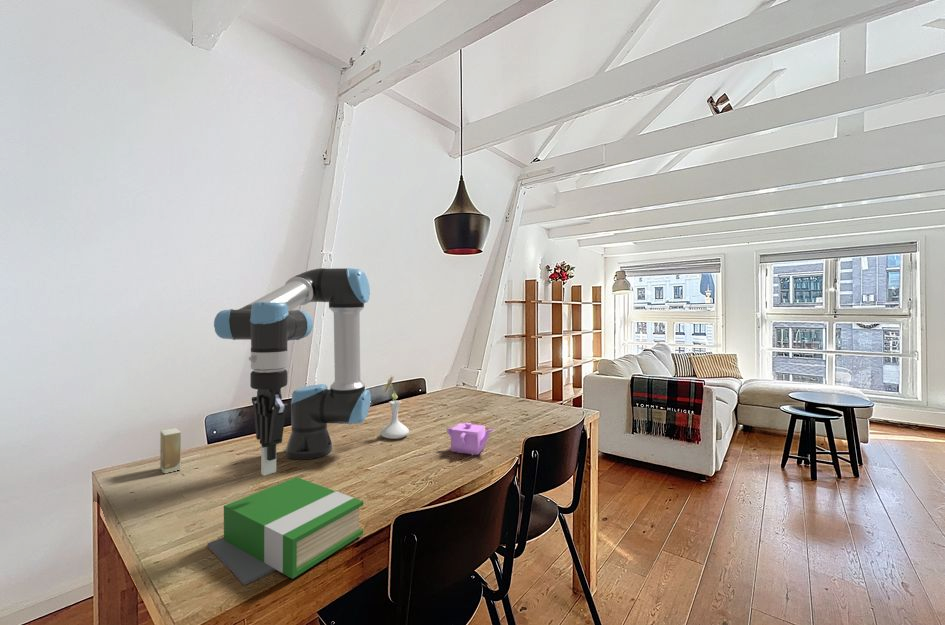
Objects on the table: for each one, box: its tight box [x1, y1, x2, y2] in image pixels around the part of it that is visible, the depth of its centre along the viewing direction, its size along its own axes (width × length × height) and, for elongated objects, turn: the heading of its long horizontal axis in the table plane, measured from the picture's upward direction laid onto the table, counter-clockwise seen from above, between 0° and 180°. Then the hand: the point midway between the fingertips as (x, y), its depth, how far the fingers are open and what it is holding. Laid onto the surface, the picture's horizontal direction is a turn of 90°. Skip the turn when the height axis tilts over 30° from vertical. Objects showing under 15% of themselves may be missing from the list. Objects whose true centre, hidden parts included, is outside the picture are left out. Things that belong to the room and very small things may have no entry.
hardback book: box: [223, 476, 364, 580], centre depth 89 cm, size 18×7×24 cm
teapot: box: [446, 422, 495, 456], centre depth 144 cm, size 18×14×10 cm
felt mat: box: [206, 536, 277, 586], centre depth 89 cm, size 19×22×1 cm
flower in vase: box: [379, 375, 410, 440], centre depth 159 cm, size 13×11×25 cm
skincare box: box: [159, 427, 182, 474], centre depth 125 cm, size 6×4×12 cm
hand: (268, 472), depth 92 cm, fingers closed
